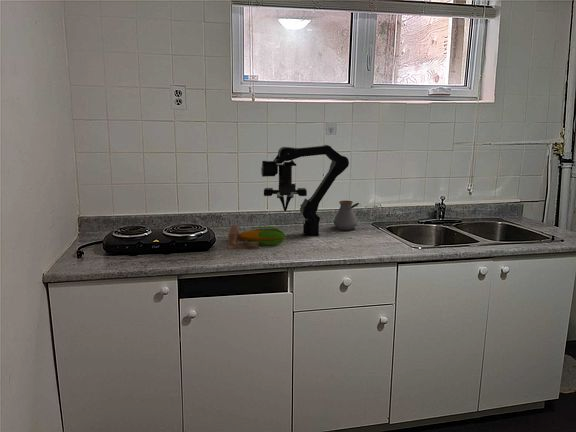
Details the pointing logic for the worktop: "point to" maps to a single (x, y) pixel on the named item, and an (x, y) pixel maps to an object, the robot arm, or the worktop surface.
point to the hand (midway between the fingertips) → (285, 211)
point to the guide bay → (234, 240)
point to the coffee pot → (346, 216)
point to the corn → (263, 236)
